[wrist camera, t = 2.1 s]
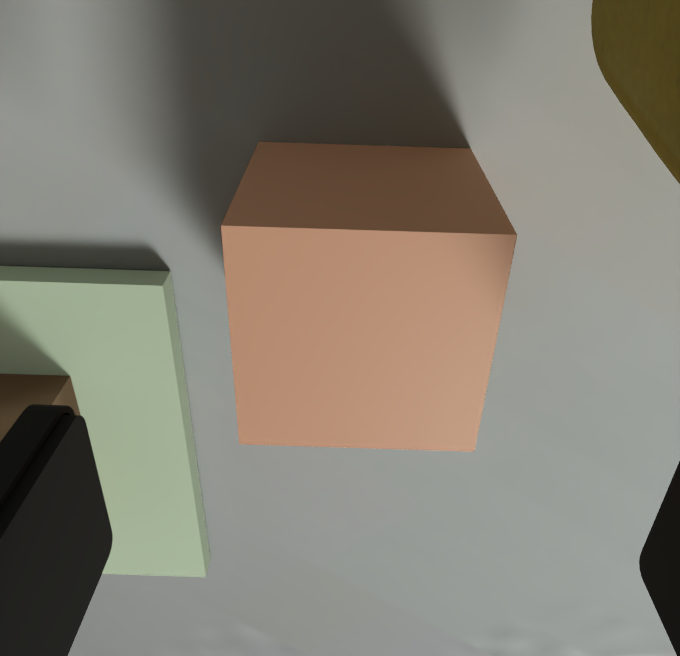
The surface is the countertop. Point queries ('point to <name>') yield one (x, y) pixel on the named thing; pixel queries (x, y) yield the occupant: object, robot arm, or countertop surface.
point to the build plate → (118, 400)
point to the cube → (364, 295)
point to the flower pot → (643, 67)
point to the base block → (32, 395)
